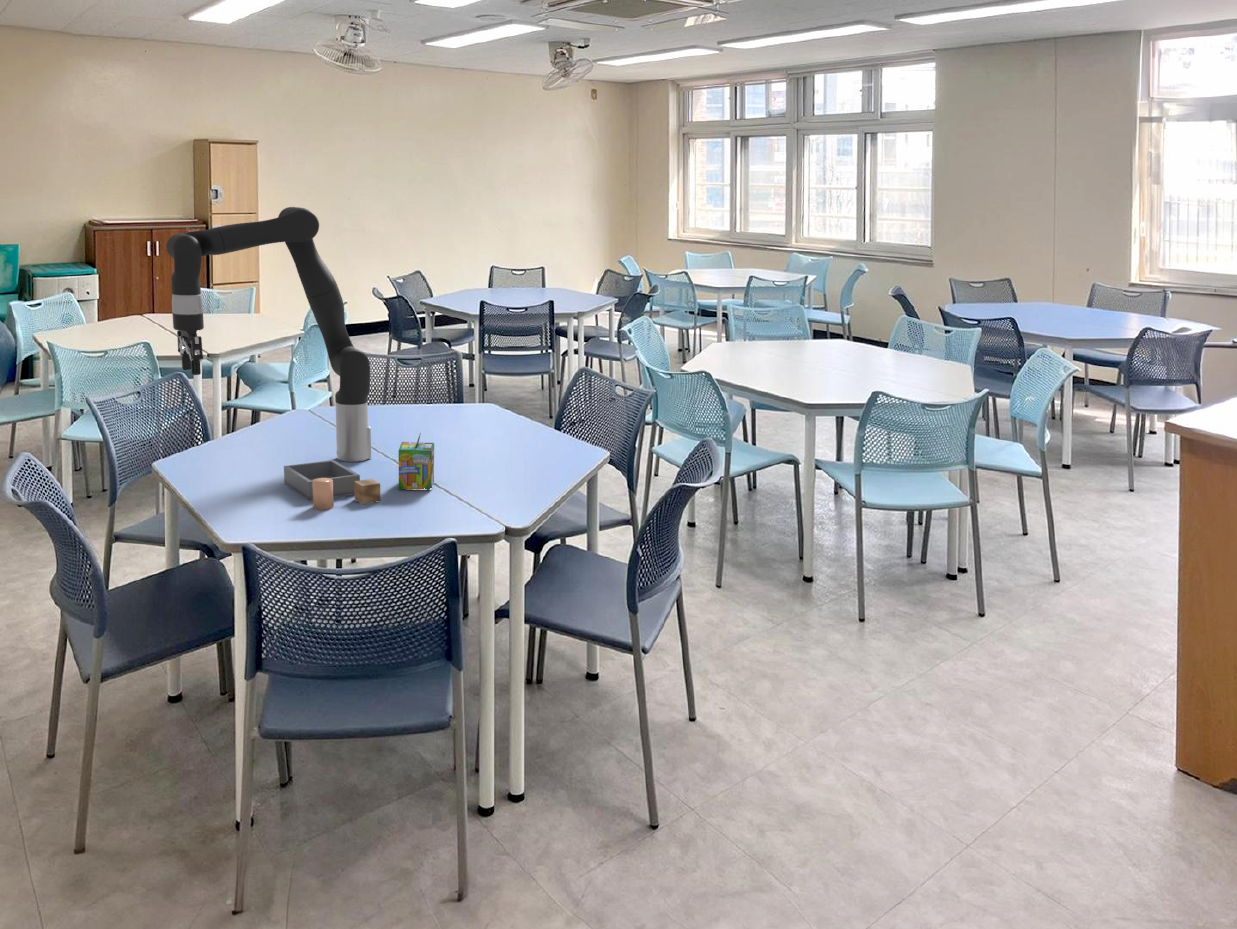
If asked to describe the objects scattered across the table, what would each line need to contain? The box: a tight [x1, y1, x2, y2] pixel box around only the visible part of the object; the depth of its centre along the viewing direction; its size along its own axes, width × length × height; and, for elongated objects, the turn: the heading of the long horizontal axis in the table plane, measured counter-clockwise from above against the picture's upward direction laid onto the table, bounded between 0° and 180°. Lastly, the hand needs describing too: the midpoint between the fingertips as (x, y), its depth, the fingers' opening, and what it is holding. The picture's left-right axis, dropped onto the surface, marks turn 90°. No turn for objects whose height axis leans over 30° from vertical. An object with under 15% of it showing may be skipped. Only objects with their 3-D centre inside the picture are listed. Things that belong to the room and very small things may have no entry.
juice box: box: [398, 432, 435, 491], centre depth 291 cm, size 9×9×15 cm
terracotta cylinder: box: [312, 478, 335, 511], centre depth 270 cm, size 5×5×7 cm
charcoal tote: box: [283, 459, 361, 501], centre depth 286 cm, size 14×18×5 cm
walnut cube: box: [354, 478, 382, 505], centre depth 278 cm, size 5×5×5 cm
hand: (191, 372), depth 285 cm, fingers open, 8 cm apart
